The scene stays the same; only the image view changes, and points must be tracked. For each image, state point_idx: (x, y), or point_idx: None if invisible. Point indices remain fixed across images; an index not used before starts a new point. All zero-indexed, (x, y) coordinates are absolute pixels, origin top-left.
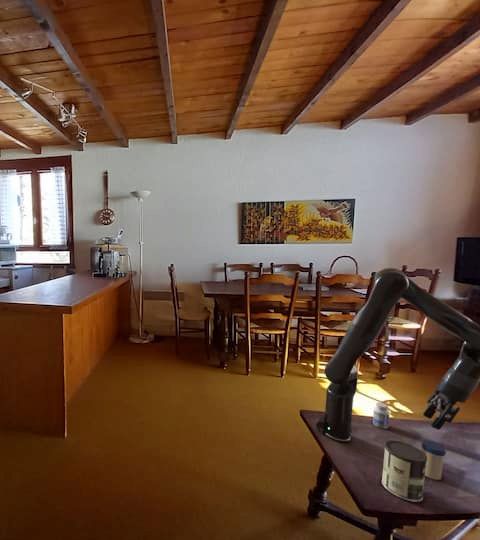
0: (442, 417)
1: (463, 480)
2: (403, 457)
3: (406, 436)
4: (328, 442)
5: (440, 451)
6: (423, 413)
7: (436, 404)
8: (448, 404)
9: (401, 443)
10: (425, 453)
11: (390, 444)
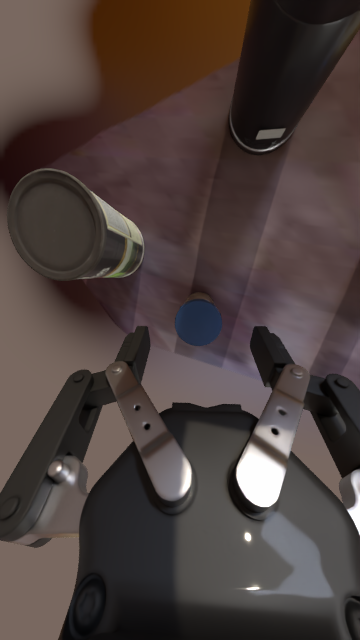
0: (66, 381)
1: (210, 353)
2: (7, 215)
3: (345, 298)
4: (210, 93)
5: (177, 331)
6: (264, 328)
7: (222, 412)
8: (5, 508)
9: (94, 225)
10: (187, 301)
11: (61, 188)
